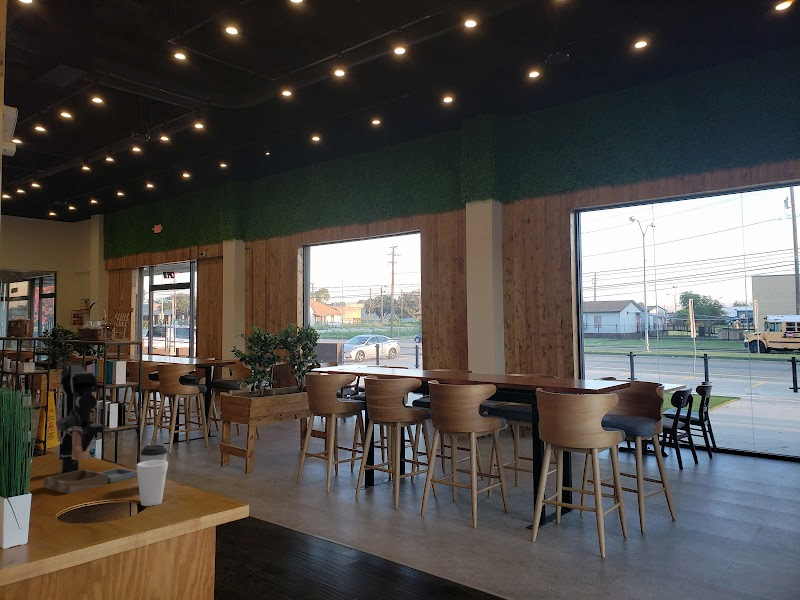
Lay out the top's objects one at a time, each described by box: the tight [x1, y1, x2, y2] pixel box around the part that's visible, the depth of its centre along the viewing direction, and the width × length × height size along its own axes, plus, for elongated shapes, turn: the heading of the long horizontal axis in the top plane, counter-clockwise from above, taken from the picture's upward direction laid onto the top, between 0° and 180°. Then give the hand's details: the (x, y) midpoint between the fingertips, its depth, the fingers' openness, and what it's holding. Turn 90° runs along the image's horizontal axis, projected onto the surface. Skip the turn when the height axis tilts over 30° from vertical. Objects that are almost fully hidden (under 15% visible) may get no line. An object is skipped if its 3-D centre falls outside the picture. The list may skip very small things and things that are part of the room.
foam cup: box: [136, 460, 169, 507], centre depth 193 cm, size 10×9×13 cm
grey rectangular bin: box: [99, 467, 138, 484], centre depth 222 cm, size 11×11×2 cm
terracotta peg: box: [72, 430, 90, 462], centre depth 212 cm, size 4×4×10 cm
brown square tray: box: [43, 468, 108, 495], centre depth 210 cm, size 15×15×4 cm
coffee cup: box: [140, 444, 168, 462], centre depth 211 cm, size 9×9×15 cm
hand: (80, 450), depth 212 cm, fingers closed on terracotta peg, 4 cm apart
